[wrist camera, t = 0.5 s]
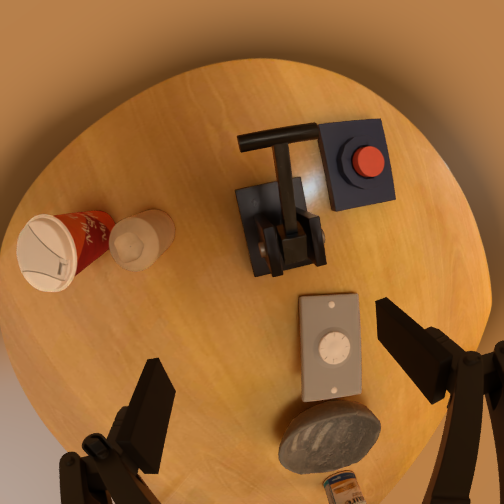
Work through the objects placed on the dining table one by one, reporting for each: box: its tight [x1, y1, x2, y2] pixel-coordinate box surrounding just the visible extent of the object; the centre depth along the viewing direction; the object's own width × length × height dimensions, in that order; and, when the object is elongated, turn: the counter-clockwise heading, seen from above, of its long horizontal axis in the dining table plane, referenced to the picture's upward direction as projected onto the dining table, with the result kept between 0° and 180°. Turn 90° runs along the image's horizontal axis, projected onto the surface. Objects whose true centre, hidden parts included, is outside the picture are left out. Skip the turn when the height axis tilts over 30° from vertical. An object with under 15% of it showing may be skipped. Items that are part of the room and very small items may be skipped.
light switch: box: [299, 293, 362, 402], centre depth 38 cm, size 8×6×14 cm
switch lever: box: [237, 123, 319, 265], centre depth 23 cm, size 12×6×2 cm, turn 12°
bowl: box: [278, 400, 381, 475], centre depth 41 cm, size 18×18×8 cm
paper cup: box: [17, 211, 115, 292], centre depth 28 cm, size 8×8×14 cm
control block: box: [317, 119, 396, 212], centre depth 33 cm, size 11×9×4 cm
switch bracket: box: [235, 177, 327, 277], centre depth 30 cm, size 11×8×12 cm
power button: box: [352, 146, 384, 177], centre depth 31 cm, size 4×4×2 cm
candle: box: [109, 209, 175, 272], centre depth 30 cm, size 6×6×10 cm
